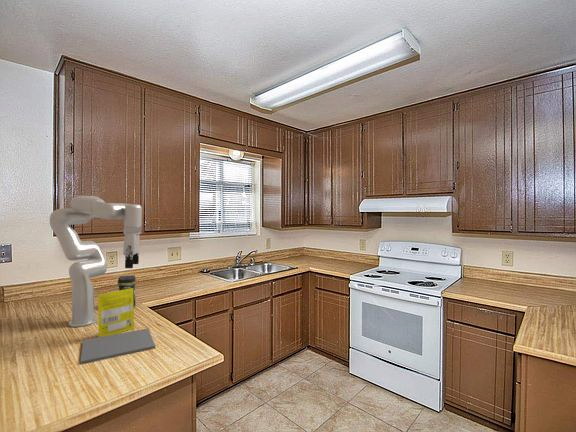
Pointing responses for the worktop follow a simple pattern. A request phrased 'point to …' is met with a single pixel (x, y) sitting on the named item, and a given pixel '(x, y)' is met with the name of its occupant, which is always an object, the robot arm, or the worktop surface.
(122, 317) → the food package
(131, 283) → the coffee jar
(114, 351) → the rubber mat
